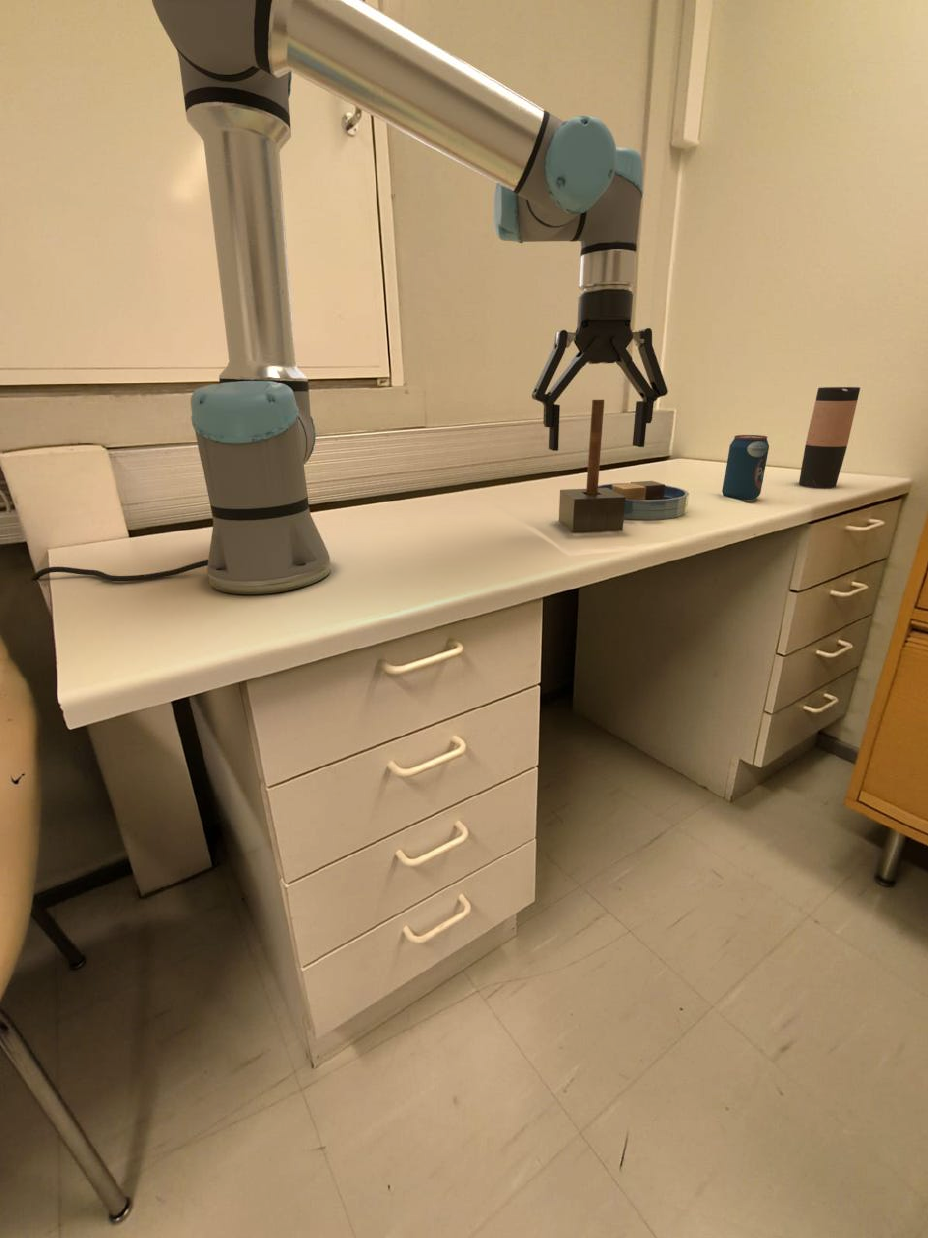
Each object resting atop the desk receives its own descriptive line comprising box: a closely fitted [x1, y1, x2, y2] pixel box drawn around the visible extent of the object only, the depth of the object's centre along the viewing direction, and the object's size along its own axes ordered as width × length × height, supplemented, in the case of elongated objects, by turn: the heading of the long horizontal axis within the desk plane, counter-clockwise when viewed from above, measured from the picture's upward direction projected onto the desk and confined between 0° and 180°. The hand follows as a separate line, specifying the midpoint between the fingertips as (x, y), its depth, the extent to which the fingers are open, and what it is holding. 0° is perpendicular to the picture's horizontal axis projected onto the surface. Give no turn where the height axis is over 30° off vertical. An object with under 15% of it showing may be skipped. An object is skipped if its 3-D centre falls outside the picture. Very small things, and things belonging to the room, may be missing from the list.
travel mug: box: [798, 386, 861, 489], centre depth 120 cm, size 8×8×20 cm
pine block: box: [611, 482, 646, 500], centre depth 101 cm, size 4×4×4 cm
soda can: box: [721, 434, 770, 503], centre depth 110 cm, size 7×7×12 cm
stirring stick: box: [585, 399, 605, 495], centre depth 89 cm, size 2×2×20 cm
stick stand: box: [558, 488, 626, 534], centre depth 91 cm, size 8×8×6 cm
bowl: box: [598, 482, 690, 521], centre depth 102 cm, size 17×17×4 cm
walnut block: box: [630, 480, 666, 501], centre depth 103 cm, size 4×4×4 cm
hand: (596, 448), depth 88 cm, fingers open, 13 cm apart
